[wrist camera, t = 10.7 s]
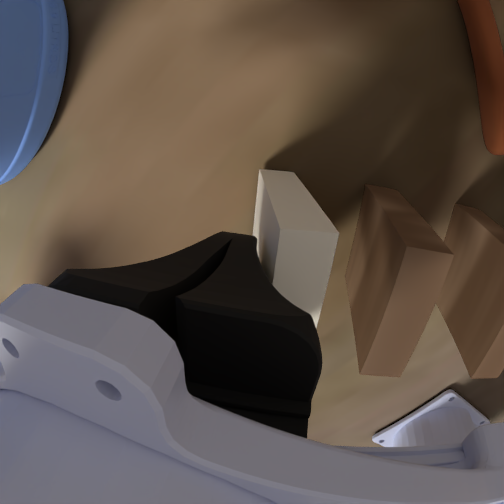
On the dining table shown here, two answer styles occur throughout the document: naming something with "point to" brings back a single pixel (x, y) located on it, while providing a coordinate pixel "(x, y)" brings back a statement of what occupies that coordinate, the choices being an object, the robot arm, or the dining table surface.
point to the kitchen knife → (487, 69)
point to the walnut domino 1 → (392, 280)
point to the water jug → (29, 77)
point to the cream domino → (293, 240)
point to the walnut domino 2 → (475, 291)
